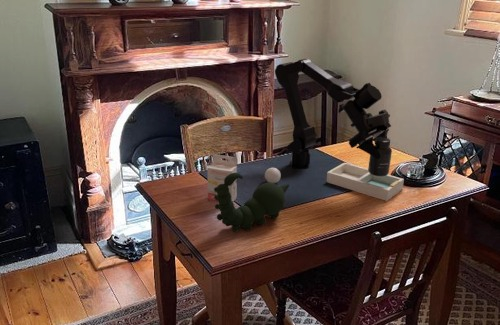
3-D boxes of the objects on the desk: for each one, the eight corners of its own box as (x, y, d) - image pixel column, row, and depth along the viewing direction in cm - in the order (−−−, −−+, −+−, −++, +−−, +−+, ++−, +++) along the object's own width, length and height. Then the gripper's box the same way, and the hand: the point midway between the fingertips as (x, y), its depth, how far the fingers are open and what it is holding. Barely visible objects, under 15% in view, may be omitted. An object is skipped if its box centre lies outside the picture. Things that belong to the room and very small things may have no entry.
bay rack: (326, 182, 176) (327, 171, 175) (343, 171, 185) (344, 161, 183) (387, 201, 162) (388, 189, 161) (402, 189, 171) (404, 178, 169)
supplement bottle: (383, 178, 163) (387, 144, 158) (364, 173, 167) (368, 139, 162) (392, 172, 168) (396, 138, 163) (373, 167, 172) (377, 134, 167)
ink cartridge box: (207, 200, 162) (206, 158, 156) (213, 194, 166) (212, 153, 161) (231, 204, 159) (231, 162, 154) (237, 198, 164) (237, 156, 158)
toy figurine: (231, 247, 139) (300, 214, 152) (225, 186, 131) (298, 157, 144) (212, 233, 146) (280, 203, 159) (206, 174, 138) (277, 147, 151)
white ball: (275, 178, 179) (276, 164, 177) (283, 184, 174) (283, 169, 172) (256, 182, 176) (256, 167, 174) (263, 188, 171) (264, 173, 169)
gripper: (360, 109, 154) (389, 151, 152) (389, 97, 167) (415, 136, 165) (337, 127, 162) (363, 167, 160) (366, 115, 175) (390, 152, 173)
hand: (384, 155), depth 164 cm, fingers closed on supplement bottle, 7 cm apart
